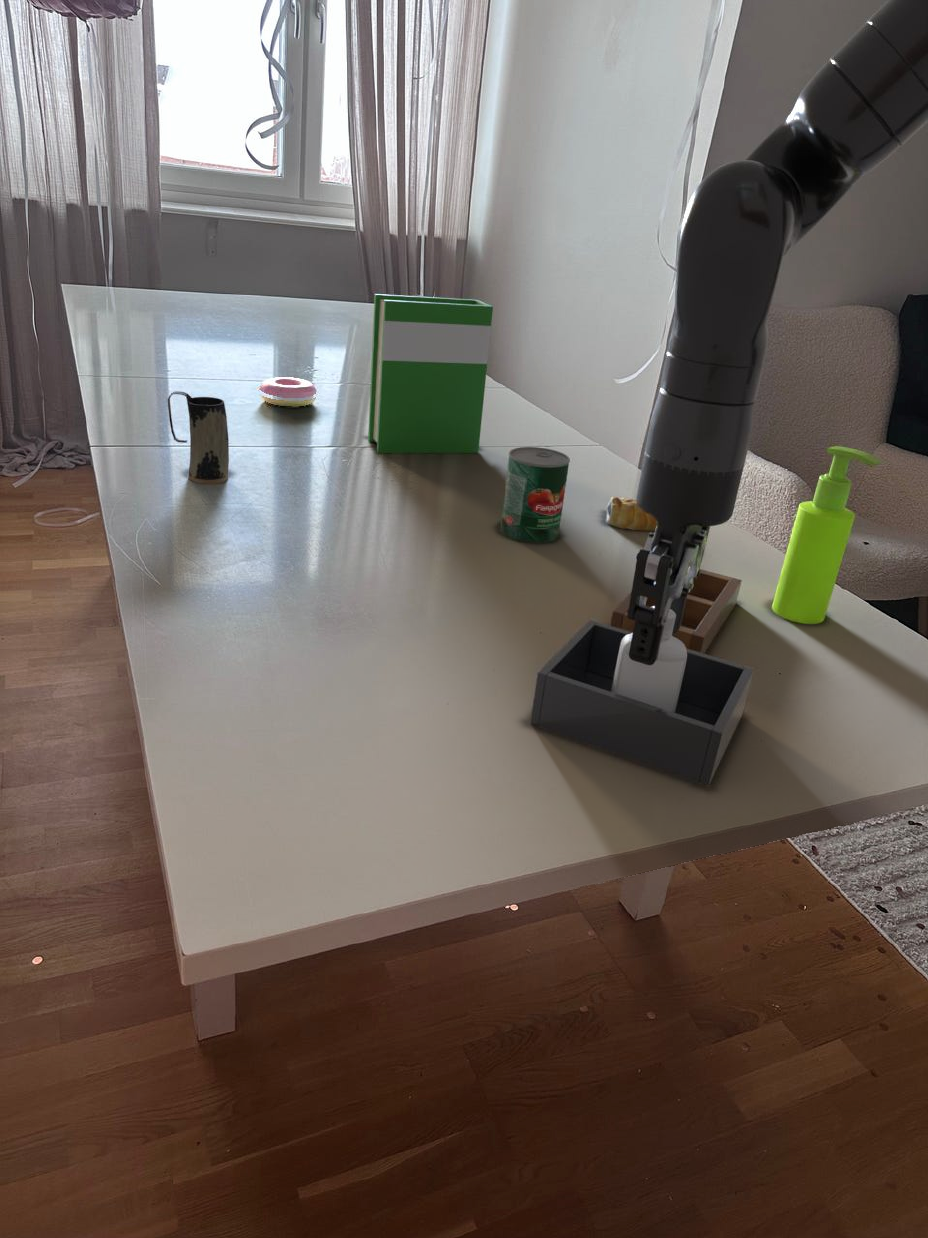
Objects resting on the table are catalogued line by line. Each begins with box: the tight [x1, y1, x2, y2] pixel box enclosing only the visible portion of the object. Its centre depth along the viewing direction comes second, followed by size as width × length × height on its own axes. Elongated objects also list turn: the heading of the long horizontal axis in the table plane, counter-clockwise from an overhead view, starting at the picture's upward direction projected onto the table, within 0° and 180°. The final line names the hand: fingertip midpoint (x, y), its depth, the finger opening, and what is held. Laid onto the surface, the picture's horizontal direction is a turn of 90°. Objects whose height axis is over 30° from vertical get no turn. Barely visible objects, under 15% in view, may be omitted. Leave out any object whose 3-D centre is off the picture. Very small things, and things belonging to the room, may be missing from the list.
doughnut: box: [259, 376, 318, 408], centre depth 172 cm, size 11×11×4 cm
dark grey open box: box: [529, 619, 755, 788], centre depth 78 cm, size 16×13×6 cm
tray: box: [609, 568, 742, 654], centre depth 99 cm, size 10×18×4 cm, turn 152°
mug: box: [167, 390, 230, 485], centre depth 126 cm, size 8×6×12 cm
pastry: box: [605, 496, 657, 531], centre depth 126 cm, size 9×7×4 cm
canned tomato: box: [500, 446, 571, 544], centre depth 117 cm, size 8×8×11 cm
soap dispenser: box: [771, 445, 884, 625], centre depth 99 cm, size 6×7×20 cm
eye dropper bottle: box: [611, 606, 687, 713], centre depth 76 cm, size 4×6×12 cm
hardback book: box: [367, 293, 494, 454], centre depth 149 cm, size 18×7×24 cm, turn 108°
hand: (654, 644), depth 76 cm, fingers open, 6 cm apart
